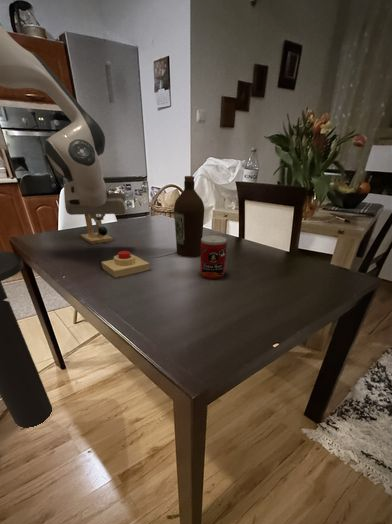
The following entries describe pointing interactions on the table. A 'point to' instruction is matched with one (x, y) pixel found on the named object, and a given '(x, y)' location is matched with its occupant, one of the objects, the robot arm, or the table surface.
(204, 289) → the table surface
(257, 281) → the table surface
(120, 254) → the button
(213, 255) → the canned food
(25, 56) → the robot arm
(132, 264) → the button block
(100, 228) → the lever
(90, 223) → the bracket
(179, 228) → the olive oil
